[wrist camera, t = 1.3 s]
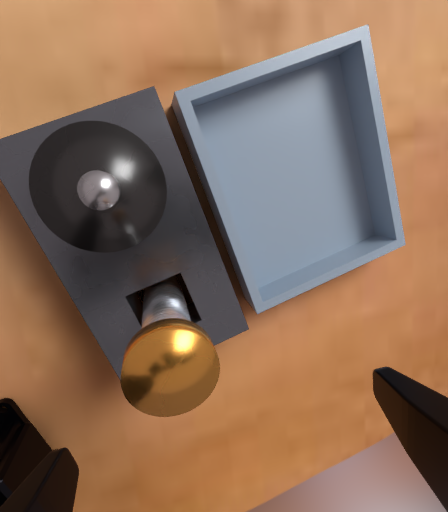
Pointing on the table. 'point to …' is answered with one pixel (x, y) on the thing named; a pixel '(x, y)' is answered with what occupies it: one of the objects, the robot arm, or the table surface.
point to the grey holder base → (118, 217)
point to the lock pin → (168, 356)
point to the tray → (296, 166)
